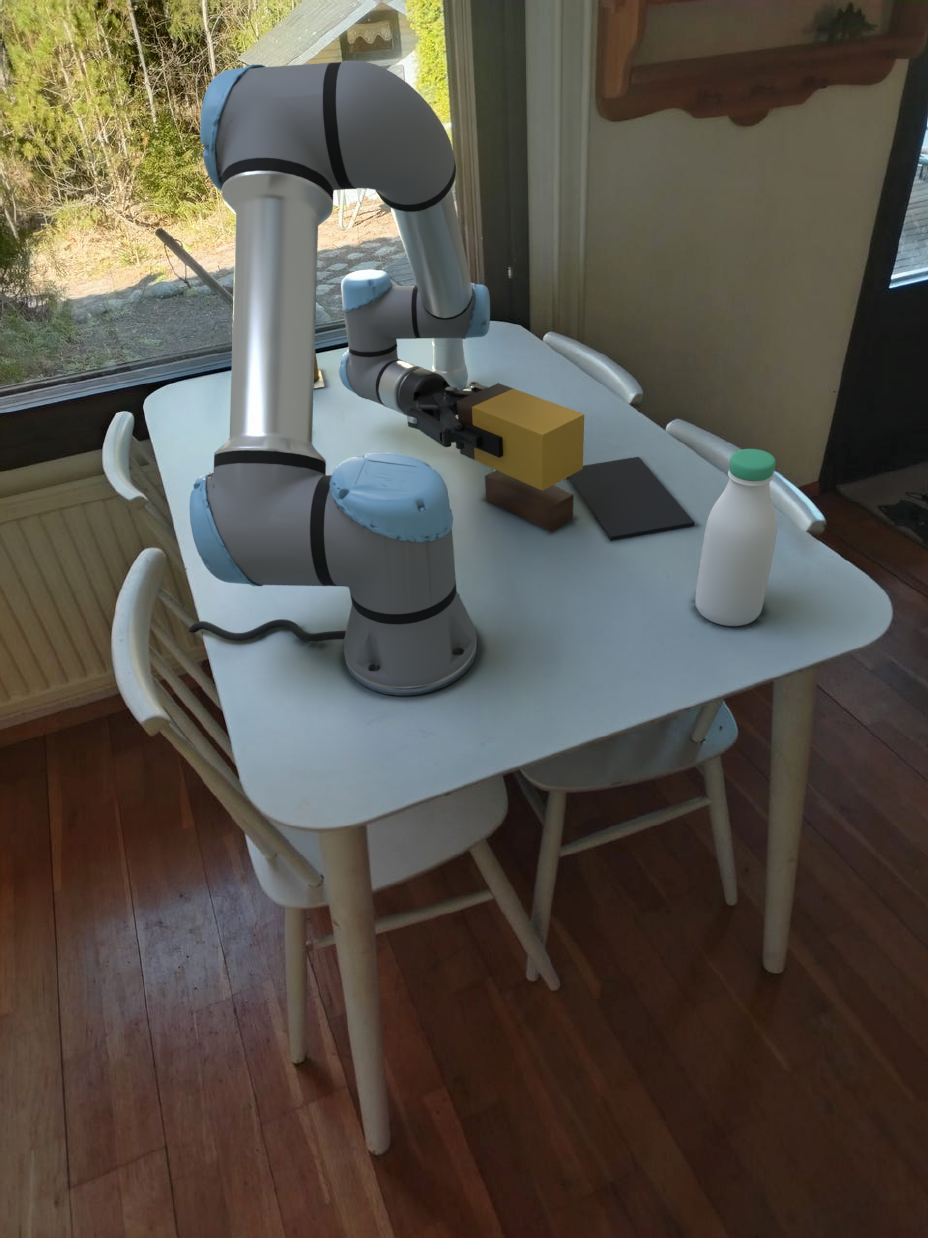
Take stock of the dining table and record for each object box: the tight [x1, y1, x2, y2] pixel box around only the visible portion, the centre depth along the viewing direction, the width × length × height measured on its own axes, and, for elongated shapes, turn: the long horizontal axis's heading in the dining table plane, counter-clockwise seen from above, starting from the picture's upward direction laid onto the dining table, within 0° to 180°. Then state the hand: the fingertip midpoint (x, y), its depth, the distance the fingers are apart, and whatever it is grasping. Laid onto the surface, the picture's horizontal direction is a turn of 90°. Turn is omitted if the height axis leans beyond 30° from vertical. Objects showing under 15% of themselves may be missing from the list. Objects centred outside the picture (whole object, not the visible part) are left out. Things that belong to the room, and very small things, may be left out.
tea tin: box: [457, 382, 585, 491], centre depth 116 cm, size 16×8×8 cm, turn 43°
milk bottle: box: [694, 448, 778, 627], centre depth 96 cm, size 8×8×20 cm
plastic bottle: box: [431, 338, 469, 390], centre depth 150 cm, size 6×7×20 cm
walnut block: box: [484, 469, 575, 533], centre depth 121 cm, size 13×4×4 cm, turn 43°
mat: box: [567, 456, 695, 541], centre depth 123 cm, size 12×20×1 cm, turn 13°
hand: (523, 436), depth 116 cm, fingers closed on tea tin, 8 cm apart
